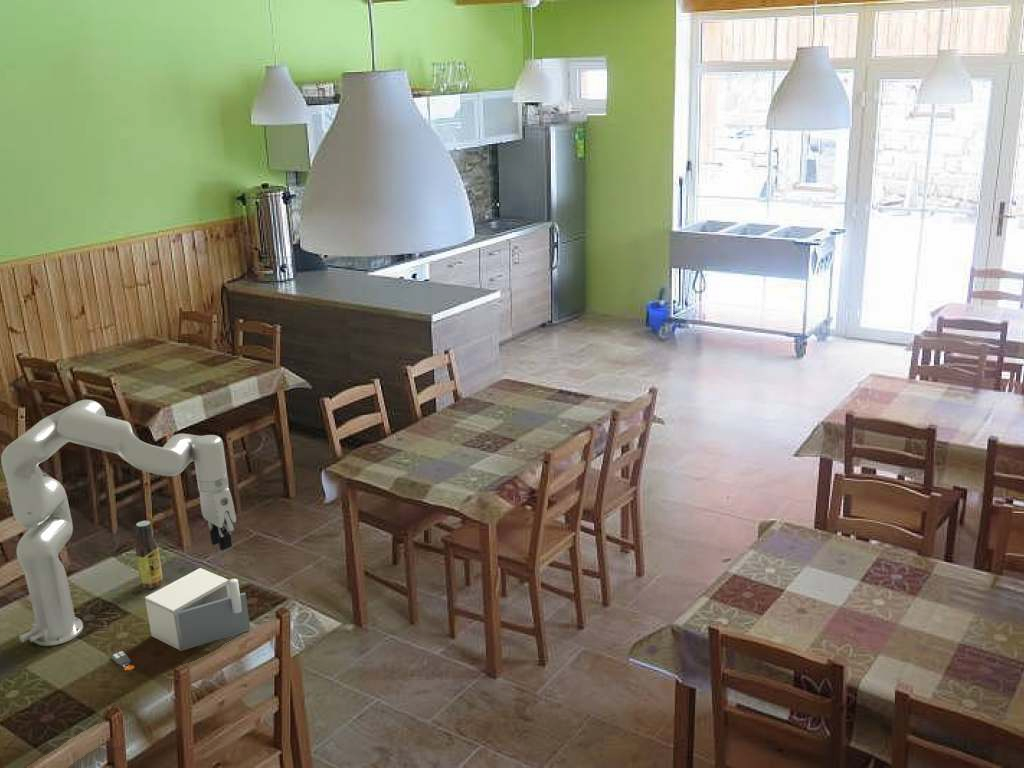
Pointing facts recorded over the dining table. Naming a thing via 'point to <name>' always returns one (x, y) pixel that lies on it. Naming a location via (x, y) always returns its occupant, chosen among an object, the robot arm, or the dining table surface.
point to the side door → (213, 619)
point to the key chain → (122, 660)
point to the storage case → (182, 601)
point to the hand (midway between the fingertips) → (221, 544)
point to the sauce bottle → (148, 557)
